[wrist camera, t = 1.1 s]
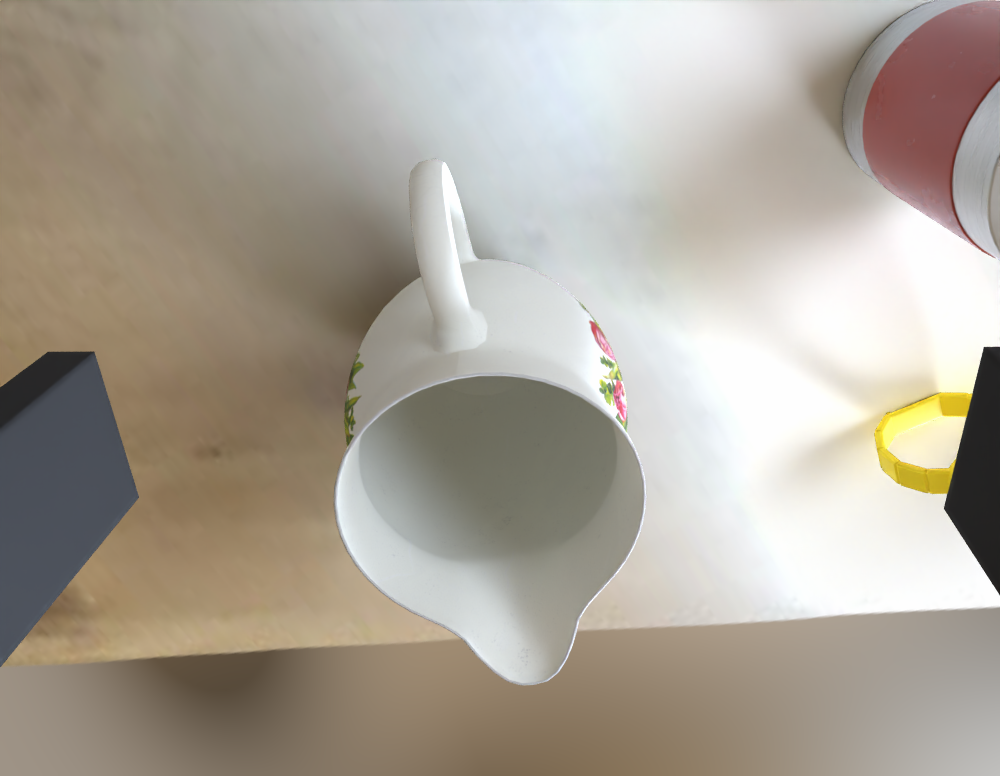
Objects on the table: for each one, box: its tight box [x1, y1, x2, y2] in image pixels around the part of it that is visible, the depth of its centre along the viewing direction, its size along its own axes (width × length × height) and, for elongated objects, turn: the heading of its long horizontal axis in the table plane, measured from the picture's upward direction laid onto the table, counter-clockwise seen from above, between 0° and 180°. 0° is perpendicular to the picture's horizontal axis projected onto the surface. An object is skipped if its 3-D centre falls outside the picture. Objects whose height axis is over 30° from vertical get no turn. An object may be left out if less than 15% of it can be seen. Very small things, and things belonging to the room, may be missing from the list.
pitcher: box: [334, 159, 646, 685], centre depth 32 cm, size 11×18×14 cm, turn 11°
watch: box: [874, 393, 972, 494], centre depth 39 cm, size 6×3×6 cm, turn 113°
